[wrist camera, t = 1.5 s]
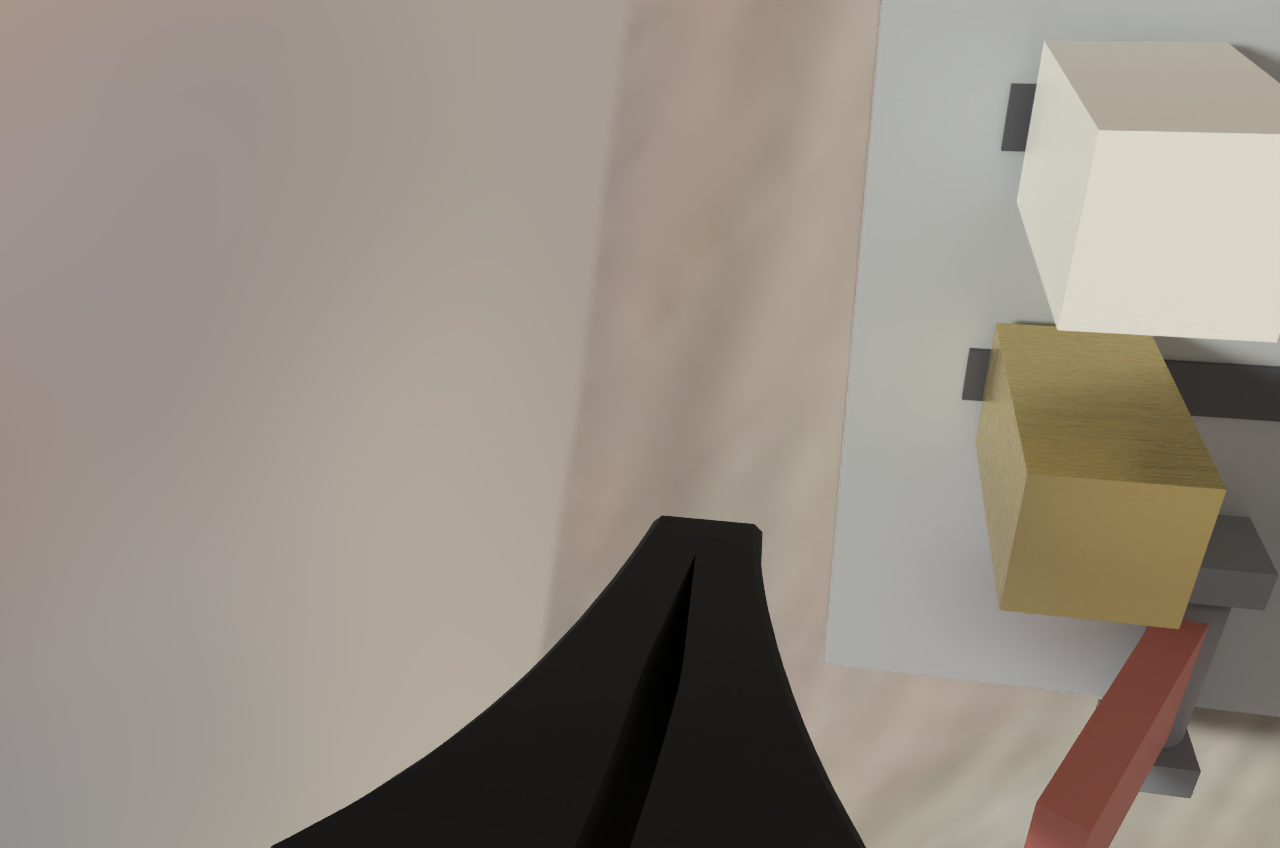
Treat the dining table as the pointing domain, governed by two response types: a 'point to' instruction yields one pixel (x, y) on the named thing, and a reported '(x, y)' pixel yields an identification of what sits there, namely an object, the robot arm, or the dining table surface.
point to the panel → (959, 358)
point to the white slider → (1155, 189)
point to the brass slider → (1092, 478)
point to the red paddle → (1128, 733)
